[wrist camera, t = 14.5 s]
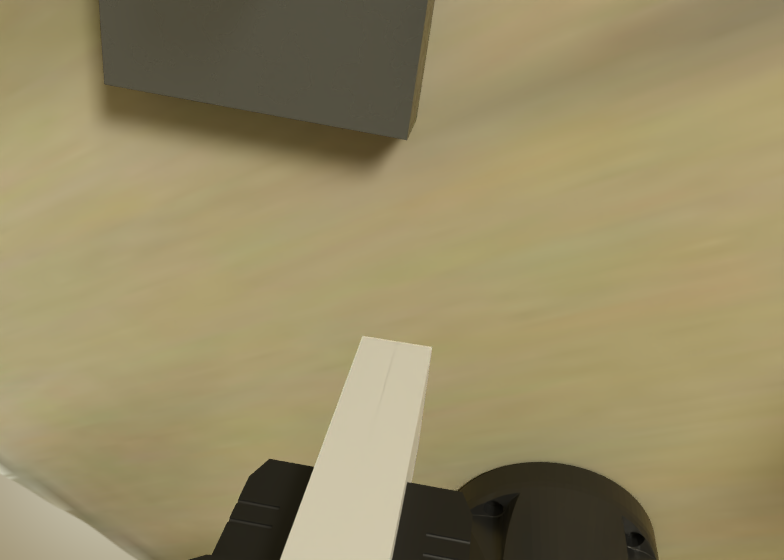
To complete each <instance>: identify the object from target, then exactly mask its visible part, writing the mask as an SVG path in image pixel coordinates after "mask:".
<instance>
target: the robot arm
mask: <svg viewBox="0 0 784 560" xmlns="http://www.w3.org/2000/svg"><path fill="white" fill-rule="evenodd" d="M431 352H432V347H428V346H422V345H416V344H410V343H404V342H398V341H391V340H385V339H379V338H373V337H367V336H362V339H361V341H360V344H359V347H358V350H357V352H356V355H355V358H354V360H353V363H352V366H351V369H350V371H349V374H348V377H347V379H346V382H345V385H344V388H343V390H342V393H341V396H340V398H339V401H338V404H337V407H336V409H335V412H334V415H333V417H332V420H331V423H330V426H329V428H328V431H327V434H326V436H325V439H324V442H323V445H322V447H321V450H320V453H319V455H318V458H317V461H316V464H315V466H314V467H311V466H306V465H300V464H295V463H289V462H284V461H278V460H273V459H269V460H268V461H267V462H265V463H264V464H263V465H262V466H261V467H260V468H258V469H257V470H256V471H255V472H254V473H253V474H251V475H250V476H249V478H248V480H247V482H246V484H245V486H244V488H243V490H242V493H241V495H240V497H239V499H238V503H236V505H235V507H234V509H233V511H232V514H231V516H230V519H229V522H227V524H226V526H225V528H224V530H223V532H222V534H221V537H220V539H219V541H218V543H217V545H216V547H215V549H214V551H213V553H212V555H204V556H200V557H197V558H193V559H190V560H659V559H658V552H657V547H656V541H655V536H654V531H653V527H652V524H651V522H650V519H649V517H648V515H647V513H646V512H645V510H644V509H643V507H642V506H641V505H640V503H639V502H638V501H637V500H636V499H635V498H634V497H633V496H632V495H631V494H630V493H629V492H627V491H626V490H625V489H624V488H622V487H621V486H619V485H618V484H616V483H615V482H613V481H611V480H610V479H608V478H606V477H604V476H602V475H599V474H597V473H595V472H592V471H589V470H586V469H583V468H579V467H575V466H571V465H566V464H559V463H548V462H531V463H520V464H514V465H509V466H505V467H501V468H498V469H495V470H492V471H490V472H487V473H485V474H483V475H481V476H479V477H477V478H475V479H474V480H472V481H471V482H469V483H468V484H466V485H465V486H464V487H463V488H462V489H461V490H460V491H453V490H448V489H442V488H437V487H431V486H426V485H420V484H415V483H412V477H413V472H414V467H415V462H416V456H417V451H418V445H419V438H420V431H421V424H422V417H423V409H424V402H425V395H426V388H427V381H428V374H429V367H430V359H431Z"/></svg>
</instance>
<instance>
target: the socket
mask: <svg viewBox="0 0 784 560" xmlns="http://www.w3.org/2000/svg"><path fill="white" fill-rule="evenodd" d="M434 2H435V0H99V9H100V24H101V39H102V55H103V70H104V84H106V85H111V86H117V87H122V88H127V89H133V90H138V91H144V92H149V93H154V94H160V95H165V96H171V97H176V98H182V99H187V100H192V101H198V102H203V103H209V104H214V105H220V106H225V107H230V108H236V109H241V110H247V111H252V112H258V113H263V114H268V115H274V116H279V117H285V118H290V119H295V120H301V121H306V122H312V123H317V124H323V125H328V126H333V127H339V128H344V129H350V130H355V131H361V132H366V133H371V134H377V135H382V136H388V137H393V138H399V139H404V140H407V139H408V137H409V135H410V132H411V130H412V128H413V126H414V124H415V122H416V118H417V112H418V105H419V99H420V92H421V86H422V79H423V73H424V66H425V60H426V53H427V47H428V41H429V34H430V28H431V21H432V15H433V8H434Z"/></svg>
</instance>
